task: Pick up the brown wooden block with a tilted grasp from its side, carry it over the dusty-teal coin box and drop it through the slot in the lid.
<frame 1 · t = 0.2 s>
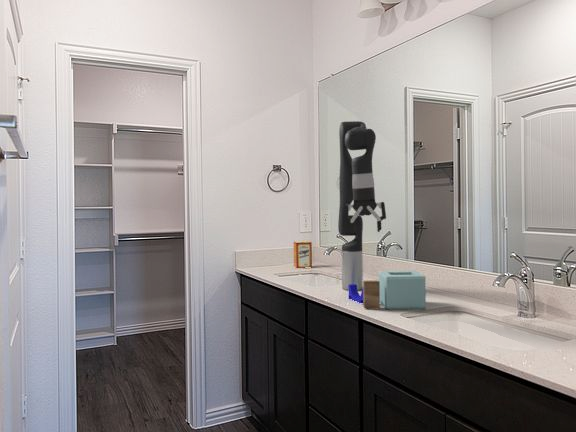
hand: (366, 232, 159), 28 cm above the worktop, tool pointing down, fingers open, 8 cm apart
cable clip: (361, 302, 177), on the worktop
coin box: (401, 305, 169), on the worktop
brown wooden block: (371, 308, 166), on the worktop
baking soda box: (302, 268, 274), on the worktop
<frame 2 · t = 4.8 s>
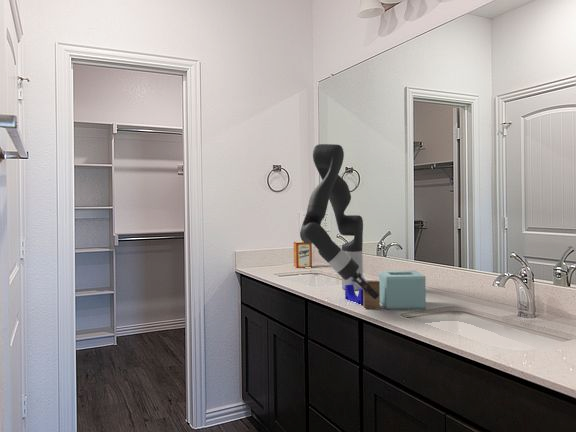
hand: (374, 294, 165), 5 cm above the worktop, tool tilted 45°, fingers open, 8 cm apart
cable clip: (357, 302, 177), on the worktop
everything else where it was.
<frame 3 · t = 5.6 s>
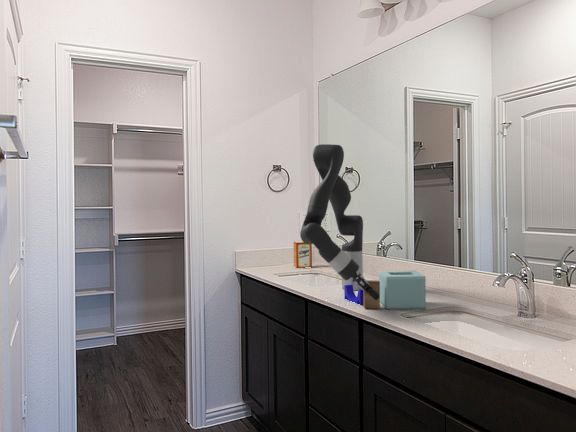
hand: (377, 297, 165), 4 cm above the worktop, tool tilted 45°, fingers closed on brown wooden block, 3 cm apart
brown wooden block: (371, 308, 165), on the worktop, touching gripper
everything else where it was.
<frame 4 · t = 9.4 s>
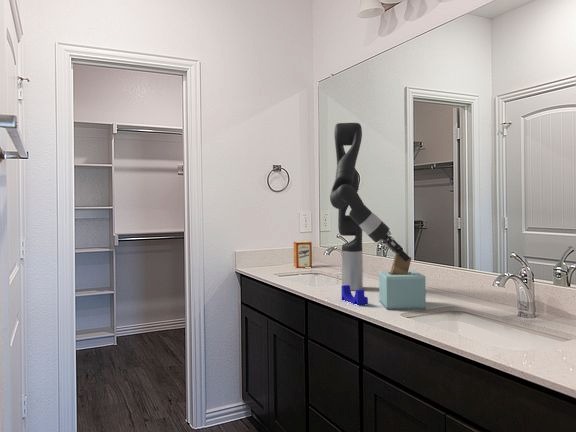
hand: (406, 259, 169), 17 cm above the worktop, tool tilted 45°, fingers closed on brown wooden block, 3 cm apart
cable clip: (354, 303, 176), on the worktop
brown wooden block: (396, 281, 169), point 9 cm above the worktop, tilted 15°, touching gripper
everything else where it was.
when the fingers open (17 cm above the worktop, at t = 9.4 s): brown wooden block drops 8 cm, resting on coin box.
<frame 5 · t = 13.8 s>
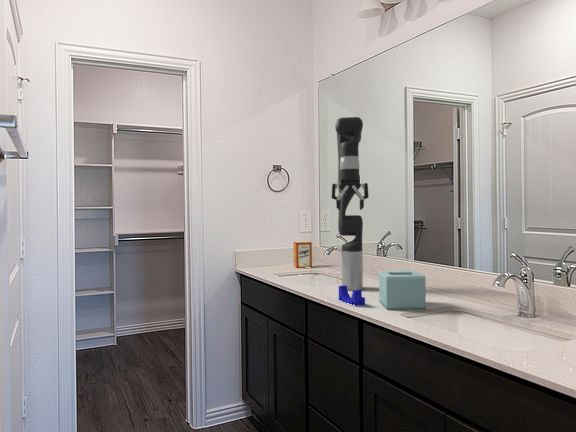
hand: (350, 209, 177), 36 cm above the worktop, tool pointing down, fingers open, 8 cm apart
cable clip: (351, 303, 175), on the worktop
brown wooden block: (397, 303, 169), point 1 cm above the worktop, touching coin box
everything else where it was.
at the end: brown wooden block inside the target area on the coin box (1.4 cm from its centre), point 0.8 cm above the coin box's base; the gripper is holding nothing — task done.
